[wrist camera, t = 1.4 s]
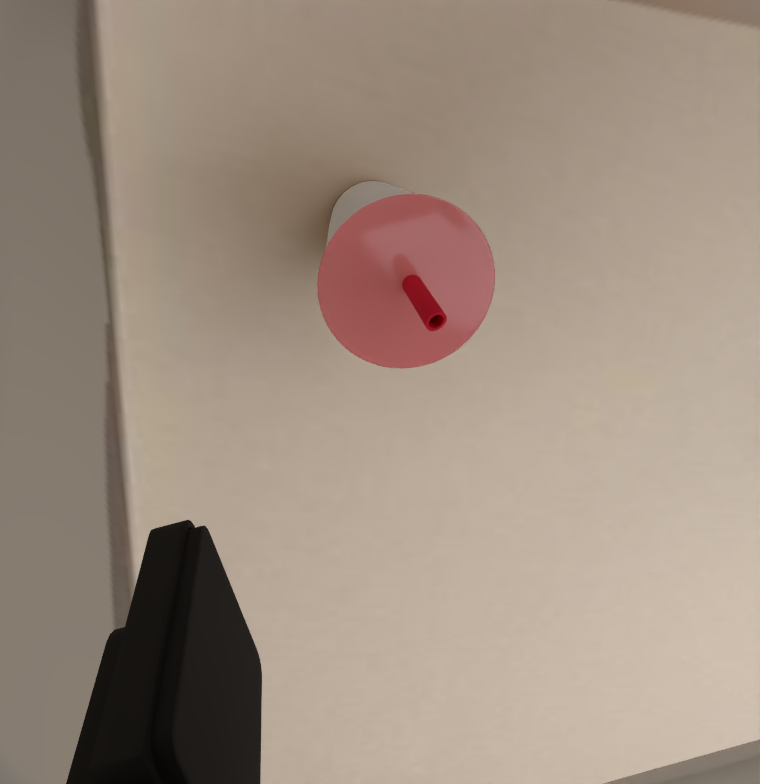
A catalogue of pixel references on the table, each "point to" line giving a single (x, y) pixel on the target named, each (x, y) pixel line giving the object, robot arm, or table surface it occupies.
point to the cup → (403, 276)
